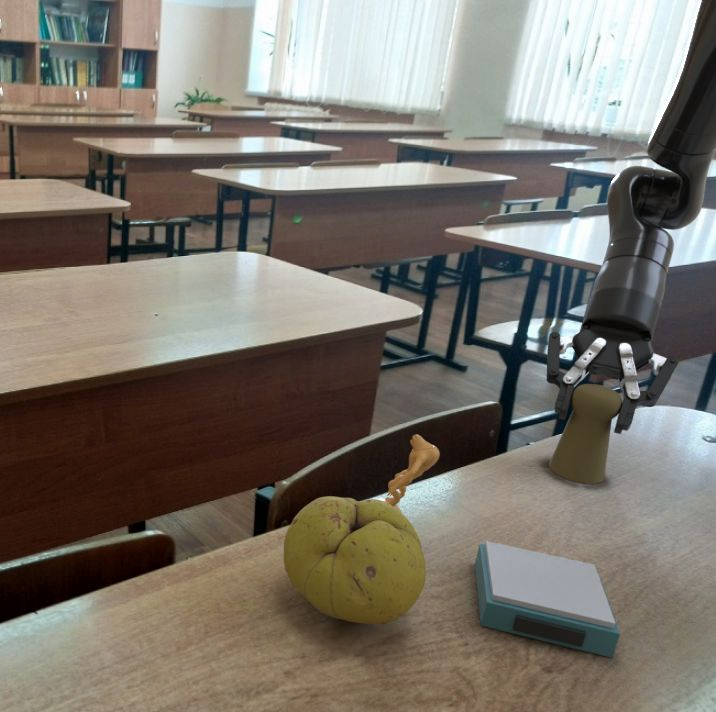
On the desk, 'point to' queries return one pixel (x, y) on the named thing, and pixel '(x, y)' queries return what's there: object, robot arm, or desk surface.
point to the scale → (544, 598)
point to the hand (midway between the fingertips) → (590, 423)
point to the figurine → (412, 469)
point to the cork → (586, 434)
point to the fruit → (355, 559)
